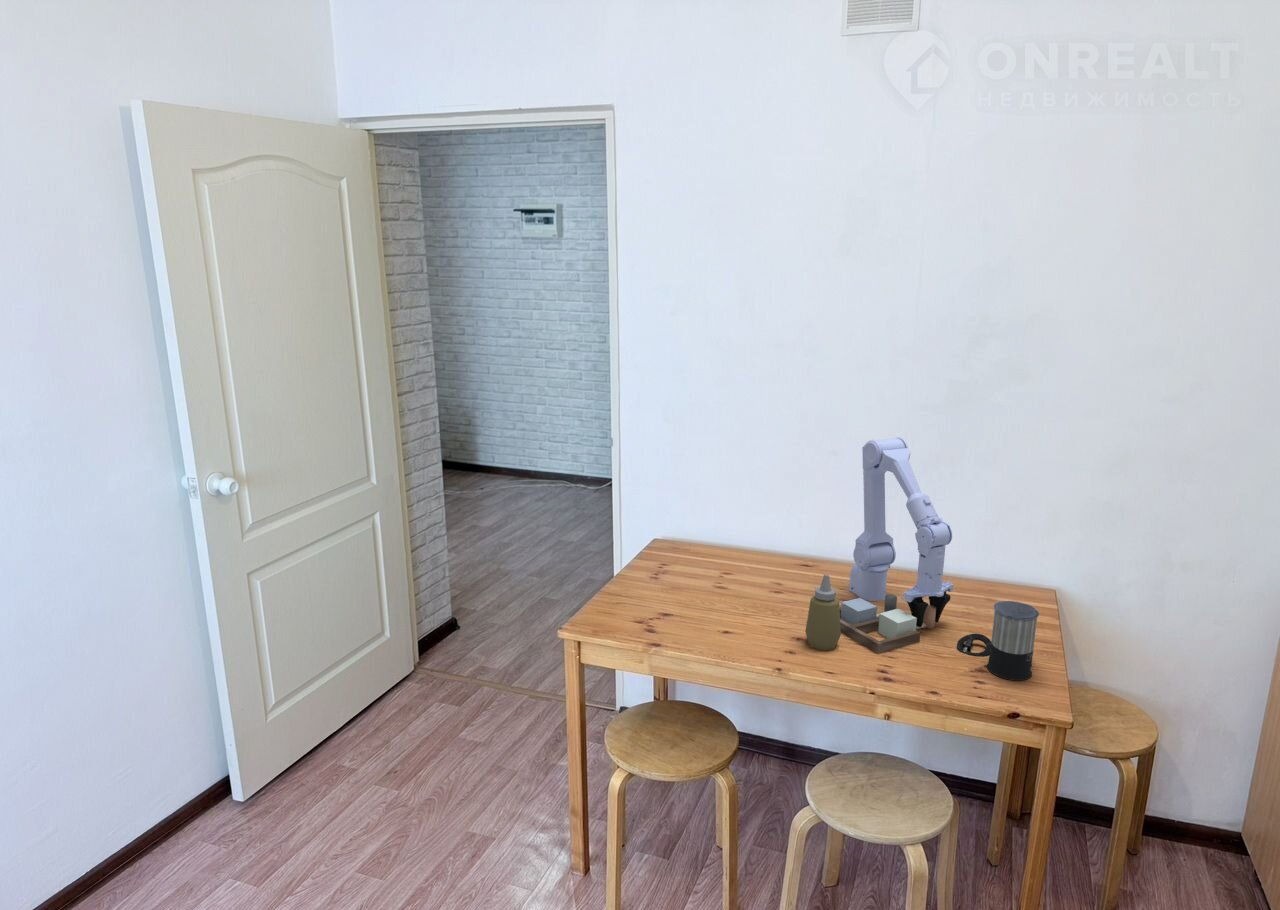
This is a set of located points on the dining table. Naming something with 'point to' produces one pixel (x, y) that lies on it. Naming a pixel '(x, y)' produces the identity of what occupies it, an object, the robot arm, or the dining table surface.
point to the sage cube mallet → (904, 622)
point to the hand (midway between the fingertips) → (925, 623)
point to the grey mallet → (864, 609)
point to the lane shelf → (860, 636)
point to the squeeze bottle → (823, 617)
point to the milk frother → (1008, 641)
